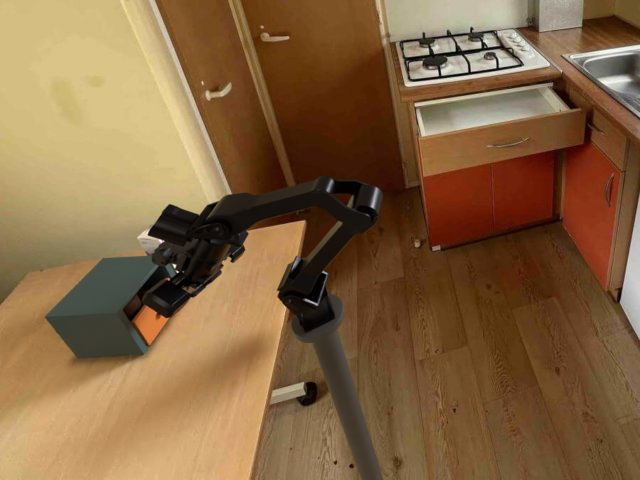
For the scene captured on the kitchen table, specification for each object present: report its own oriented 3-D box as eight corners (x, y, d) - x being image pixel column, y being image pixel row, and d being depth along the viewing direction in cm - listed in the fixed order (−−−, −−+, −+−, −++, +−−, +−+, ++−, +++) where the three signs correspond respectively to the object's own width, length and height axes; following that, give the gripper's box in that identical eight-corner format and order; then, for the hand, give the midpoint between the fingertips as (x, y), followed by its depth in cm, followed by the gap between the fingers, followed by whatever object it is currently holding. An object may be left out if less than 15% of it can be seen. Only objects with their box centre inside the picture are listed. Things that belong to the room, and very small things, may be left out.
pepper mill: (158, 318, 92) (139, 286, 87) (136, 340, 88) (114, 308, 83) (139, 314, 93) (118, 283, 88) (116, 336, 89) (94, 304, 84)
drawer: (187, 300, 97) (174, 277, 94) (155, 345, 88) (140, 321, 84) (130, 303, 97) (115, 280, 93) (92, 349, 87) (74, 325, 84)
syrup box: (200, 263, 107) (179, 220, 100) (181, 283, 102) (158, 239, 95) (179, 261, 107) (157, 219, 101) (160, 281, 102) (135, 237, 96)
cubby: (186, 294, 99) (164, 254, 93) (144, 354, 86) (116, 312, 80) (128, 298, 98) (102, 257, 92) (77, 358, 86) (44, 316, 80)
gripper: (214, 200, 91) (191, 246, 96) (128, 257, 73) (104, 310, 78) (258, 229, 92) (232, 274, 97) (182, 292, 74) (156, 342, 79)
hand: (185, 296), depth 88 cm, fingers closed
